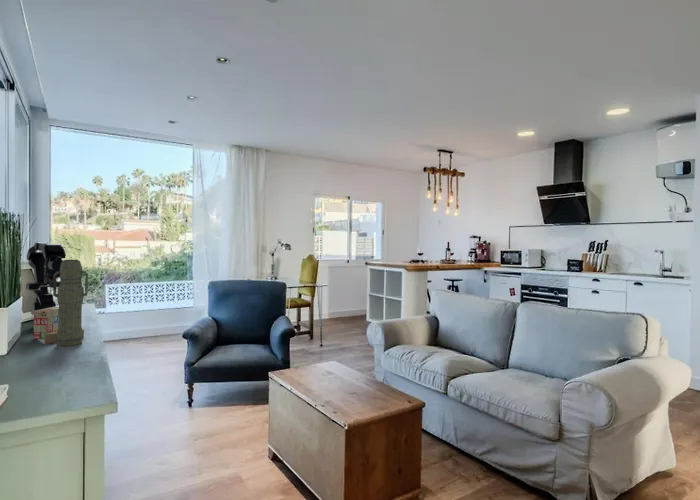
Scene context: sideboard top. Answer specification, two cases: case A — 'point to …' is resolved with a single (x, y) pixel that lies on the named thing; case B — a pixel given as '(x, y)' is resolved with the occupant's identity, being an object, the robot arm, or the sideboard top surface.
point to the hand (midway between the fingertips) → (51, 303)
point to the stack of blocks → (45, 322)
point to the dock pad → (52, 338)
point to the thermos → (70, 303)
